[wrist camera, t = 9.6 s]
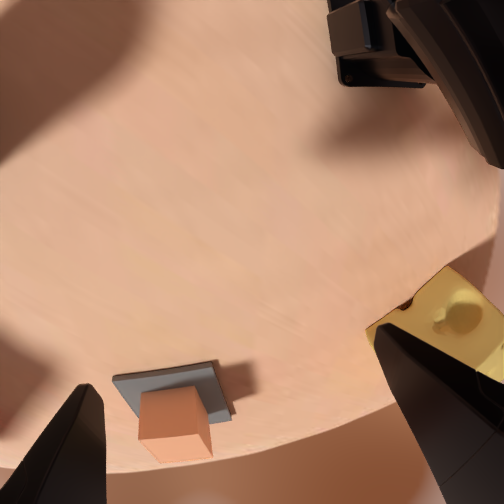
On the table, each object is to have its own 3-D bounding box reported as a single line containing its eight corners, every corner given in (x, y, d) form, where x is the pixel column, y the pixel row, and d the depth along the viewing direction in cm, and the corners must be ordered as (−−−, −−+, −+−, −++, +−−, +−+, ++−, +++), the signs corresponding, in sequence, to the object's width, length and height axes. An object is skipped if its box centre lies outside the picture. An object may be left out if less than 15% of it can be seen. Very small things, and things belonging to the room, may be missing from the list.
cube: (194, 385, 25) (198, 433, 21) (207, 414, 28) (213, 457, 24) (140, 392, 25) (138, 439, 21) (159, 420, 27) (160, 463, 23)
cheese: (360, 330, 27) (413, 417, 18) (450, 256, 25) (523, 322, 16) (393, 372, 32) (433, 440, 23) (465, 314, 30) (516, 371, 21)
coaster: (211, 361, 25) (211, 367, 25) (231, 415, 30) (231, 420, 29) (112, 376, 24) (112, 381, 24) (149, 426, 29) (148, 431, 28)
